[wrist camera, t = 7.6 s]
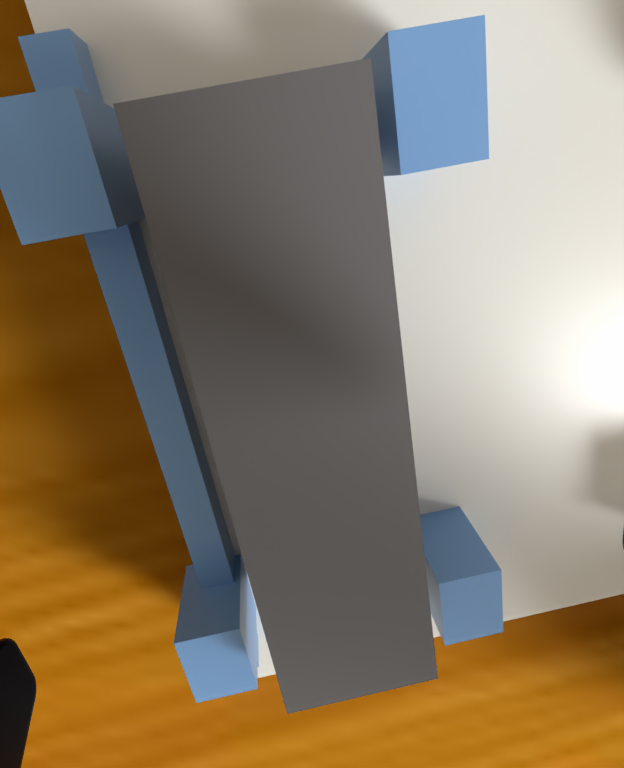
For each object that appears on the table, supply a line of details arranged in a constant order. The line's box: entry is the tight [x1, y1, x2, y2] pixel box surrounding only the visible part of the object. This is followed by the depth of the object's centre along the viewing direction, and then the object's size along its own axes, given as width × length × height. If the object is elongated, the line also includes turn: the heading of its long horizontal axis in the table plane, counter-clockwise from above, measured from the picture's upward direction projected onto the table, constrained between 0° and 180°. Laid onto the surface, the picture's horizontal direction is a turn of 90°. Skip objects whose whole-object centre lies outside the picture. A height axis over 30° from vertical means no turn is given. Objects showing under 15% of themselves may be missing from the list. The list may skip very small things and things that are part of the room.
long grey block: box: [113, 58, 438, 714], centre depth 12 cm, size 14×4×4 cm, turn 10°
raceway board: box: [0, 0, 624, 703], centre depth 14 cm, size 22×25×4 cm
